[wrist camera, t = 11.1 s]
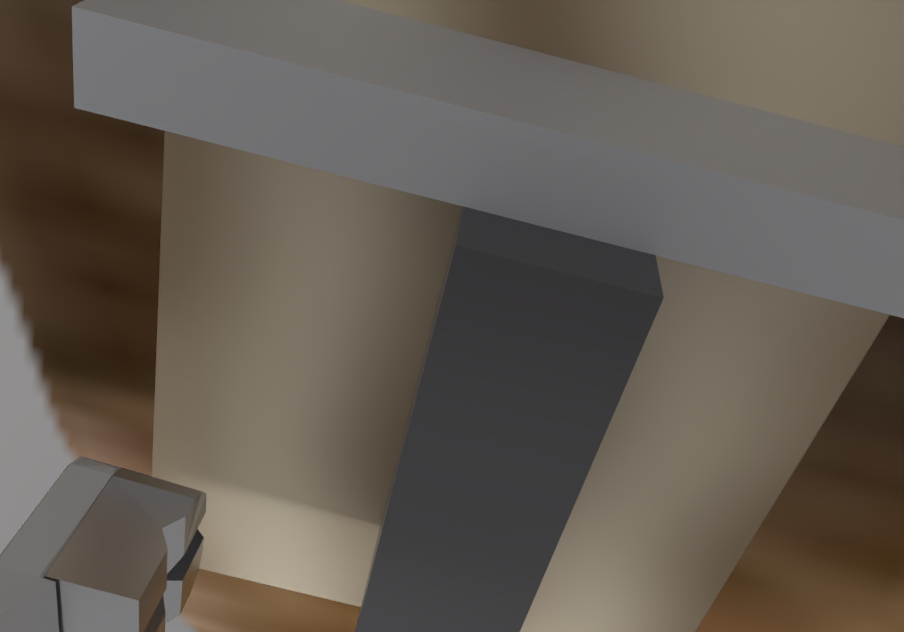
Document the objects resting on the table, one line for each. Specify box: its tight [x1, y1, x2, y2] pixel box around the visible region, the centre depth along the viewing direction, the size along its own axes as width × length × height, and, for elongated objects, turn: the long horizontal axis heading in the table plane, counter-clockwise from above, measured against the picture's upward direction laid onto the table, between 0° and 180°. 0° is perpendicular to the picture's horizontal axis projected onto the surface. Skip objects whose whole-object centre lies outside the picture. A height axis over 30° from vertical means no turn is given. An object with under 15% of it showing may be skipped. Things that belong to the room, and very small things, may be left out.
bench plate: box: [152, 0, 904, 632], centre depth 15 cm, size 12×22×5 cm, turn 167°
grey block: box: [72, 0, 904, 632], centre depth 13 cm, size 12×10×4 cm
